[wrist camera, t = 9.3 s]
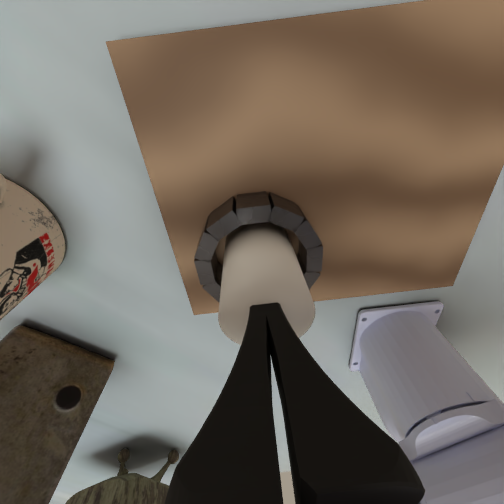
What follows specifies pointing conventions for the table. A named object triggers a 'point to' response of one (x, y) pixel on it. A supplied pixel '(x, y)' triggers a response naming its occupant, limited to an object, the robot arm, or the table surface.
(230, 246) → the cap plug
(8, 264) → the teacup with lid
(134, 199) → the table surface
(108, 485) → the tabletop clock
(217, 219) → the faceted grey ring
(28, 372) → the vintage camera
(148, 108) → the board
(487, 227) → the table surface
